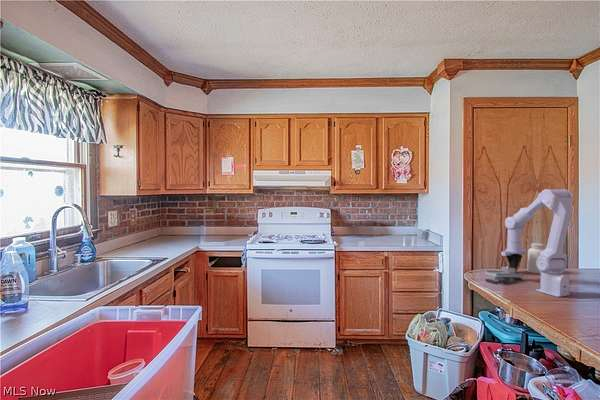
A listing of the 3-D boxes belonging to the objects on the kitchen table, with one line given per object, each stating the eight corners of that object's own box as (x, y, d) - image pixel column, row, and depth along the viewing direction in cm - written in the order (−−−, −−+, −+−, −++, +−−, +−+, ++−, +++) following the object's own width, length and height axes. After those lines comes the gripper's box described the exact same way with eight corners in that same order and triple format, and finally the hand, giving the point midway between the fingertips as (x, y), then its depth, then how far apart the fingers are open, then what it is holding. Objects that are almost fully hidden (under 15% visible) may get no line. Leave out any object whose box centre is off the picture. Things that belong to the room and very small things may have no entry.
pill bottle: (545, 274, 175) (546, 245, 175) (526, 272, 180) (527, 244, 179) (545, 271, 182) (546, 243, 181) (527, 269, 186) (528, 242, 186)
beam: (523, 277, 164) (523, 273, 164) (496, 276, 157) (496, 273, 157) (511, 274, 169) (511, 270, 169) (485, 273, 163) (485, 270, 163)
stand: (524, 280, 163) (524, 276, 163) (497, 284, 157) (497, 279, 157) (510, 277, 170) (510, 272, 170) (483, 280, 163) (483, 275, 163)
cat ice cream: (525, 275, 174) (526, 240, 173) (509, 275, 174) (510, 240, 174) (515, 270, 183) (515, 237, 182) (500, 270, 183) (501, 237, 182)
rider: (514, 274, 164) (515, 267, 164) (507, 274, 162) (508, 266, 162) (508, 272, 167) (508, 265, 167) (500, 272, 165) (501, 265, 165)
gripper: (516, 239, 171) (516, 266, 172) (495, 241, 166) (495, 269, 167) (530, 241, 165) (529, 269, 165) (509, 243, 160) (508, 272, 160)
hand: (513, 269), depth 166 cm, fingers closed
